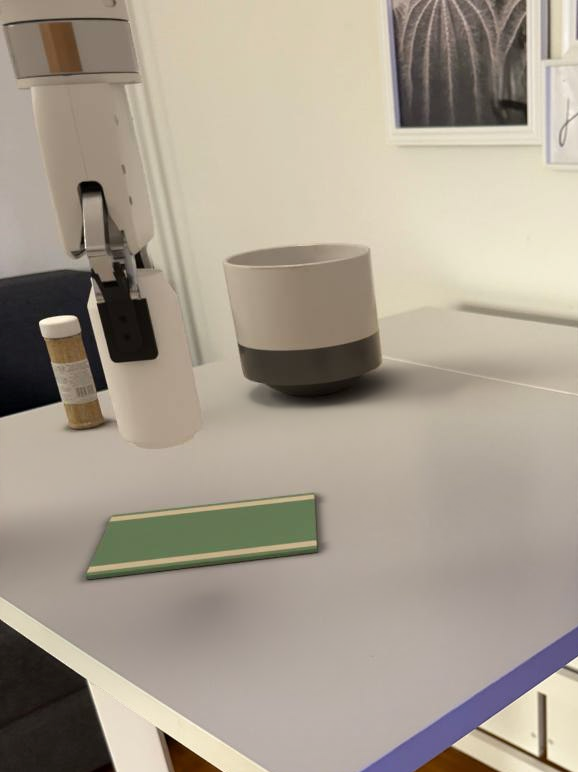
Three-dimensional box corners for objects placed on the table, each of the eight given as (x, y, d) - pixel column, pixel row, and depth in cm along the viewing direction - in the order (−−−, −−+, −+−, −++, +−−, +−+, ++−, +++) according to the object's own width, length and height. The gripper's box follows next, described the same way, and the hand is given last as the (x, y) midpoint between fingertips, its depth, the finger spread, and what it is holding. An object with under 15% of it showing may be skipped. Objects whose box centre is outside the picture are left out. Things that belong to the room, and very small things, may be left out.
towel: (86, 579, 81) (85, 575, 81) (113, 518, 93) (112, 514, 92) (317, 552, 83) (316, 548, 83) (314, 496, 95) (314, 492, 95)
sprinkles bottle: (101, 417, 124) (73, 312, 117) (108, 425, 121) (80, 318, 114) (65, 424, 122) (35, 318, 115) (72, 432, 119) (41, 324, 112)
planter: (218, 395, 131) (192, 260, 122) (322, 364, 143) (305, 240, 134) (308, 416, 119) (286, 270, 110) (412, 381, 132) (400, 246, 123)
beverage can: (112, 455, 69) (67, 284, 63) (136, 429, 74) (96, 269, 68) (196, 450, 69) (159, 278, 63) (213, 424, 74) (181, 264, 68)
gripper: (44, 68, 66) (109, 329, 75) (-28, 57, 51) (64, 384, 60) (153, 62, 67) (204, 321, 76) (113, 49, 52) (183, 373, 61)
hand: (142, 346), depth 68 cm, fingers closed on beverage can, 6 cm apart
